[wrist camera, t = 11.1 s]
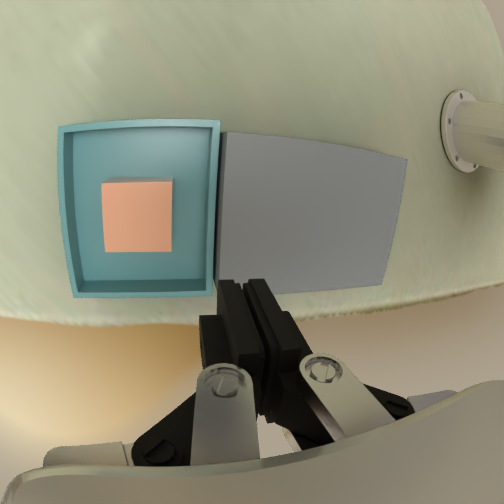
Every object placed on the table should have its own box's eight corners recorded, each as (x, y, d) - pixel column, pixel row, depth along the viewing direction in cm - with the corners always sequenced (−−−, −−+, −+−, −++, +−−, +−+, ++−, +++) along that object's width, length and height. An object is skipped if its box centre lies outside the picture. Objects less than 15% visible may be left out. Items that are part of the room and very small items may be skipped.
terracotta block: (101, 183, 21) (109, 178, 23) (105, 252, 23) (111, 240, 26) (172, 182, 22) (173, 177, 25) (171, 251, 24) (172, 239, 27)
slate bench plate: (378, 153, 29) (407, 159, 25) (358, 266, 35) (381, 285, 30) (218, 133, 25) (227, 131, 20) (211, 272, 30) (218, 297, 26)
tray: (216, 122, 24) (220, 120, 22) (208, 281, 30) (212, 295, 28) (70, 127, 21) (58, 126, 18) (81, 283, 27) (73, 297, 24)
